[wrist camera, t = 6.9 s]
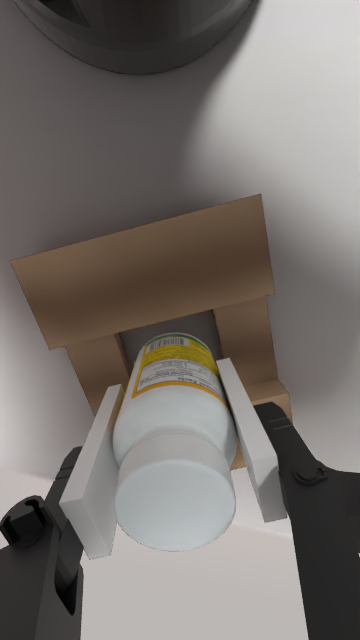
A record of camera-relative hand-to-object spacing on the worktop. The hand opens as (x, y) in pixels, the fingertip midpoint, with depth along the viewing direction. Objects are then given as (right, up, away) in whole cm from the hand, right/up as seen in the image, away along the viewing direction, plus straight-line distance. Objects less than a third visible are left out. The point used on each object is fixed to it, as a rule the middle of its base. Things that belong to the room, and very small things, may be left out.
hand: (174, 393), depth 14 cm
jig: (0, +2, +5) cm, 5 cm away
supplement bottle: (0, +1, +3) cm, 3 cm away
